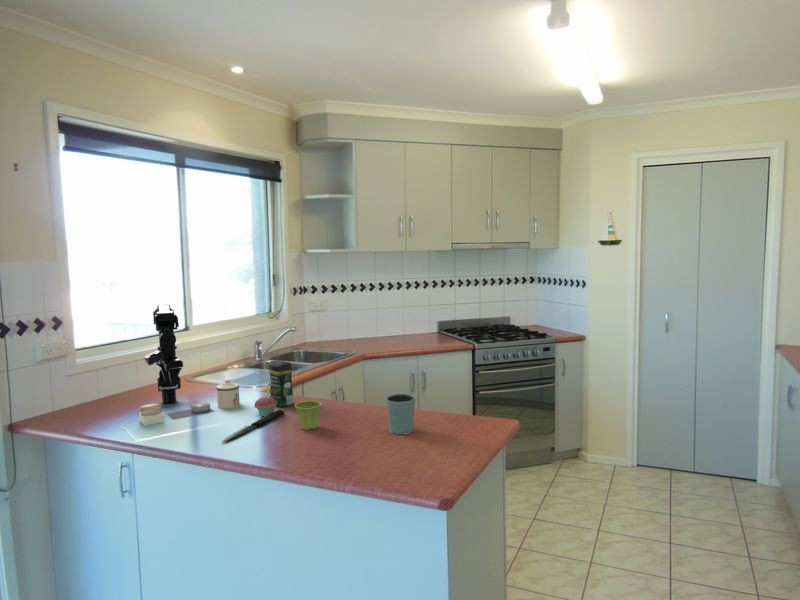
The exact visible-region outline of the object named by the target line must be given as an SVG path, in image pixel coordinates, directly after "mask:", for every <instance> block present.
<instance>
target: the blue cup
mask: <svg viewBox="0 0 800 600" xmlns="http://www.w3.org/2000/svg"><path fill="white" fill-rule="evenodd" d="M415 400H416V397H415V395H413V394H409V393H408V394H407V393H395V394H390V395H389V396H386V398H385V401H386V407H387V420H388V432H389V433H390V432H392V433H396V434H395V435H397V434H404V433H410V432H412V431H413V432H414V427H415V423H414V419H415V404H416V403H415ZM413 432H412V433H413ZM392 433H391V434H392ZM410 434H411V433H410Z"/></svg>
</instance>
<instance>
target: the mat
mask: <svg viewBox="0 0 800 600" xmlns="http://www.w3.org/2000/svg"><path fill="white" fill-rule="evenodd" d="M214 412H215V410H214V409H212V408H211V407H210V411H207V412H203V413H192V412H191V408H190V409H184V410H180V411H174V412H169V413H166V415H167V416H168V417H170V419H172V421H173V420H179V419H183V418H189V417H193V416H199V415H200V416H201V415H203V414H204V415H205V414H209V413H214Z"/></svg>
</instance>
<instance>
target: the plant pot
mask: <svg viewBox="0 0 800 600" xmlns="http://www.w3.org/2000/svg"><path fill="white" fill-rule="evenodd" d="M321 405H322V403H321V402H320V401H317V400H304V401H298V402H297V403H295V404H294V407H295V409H296V411H297V416H298V422H299V428H300V429H301V430H303V429H305V430H304V431H309V430H315V429H317V428H318V425H319V424H318V423H319V413H320V409H321ZM314 428H315V429H314Z"/></svg>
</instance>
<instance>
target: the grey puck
mask: <svg viewBox="0 0 800 600" xmlns="http://www.w3.org/2000/svg"><path fill="white" fill-rule="evenodd" d="M190 407H191V408H190V409H191V412H192V413H203V412H207V411H210V408H211V403H209V402H198V403H193V404H191V406H190Z"/></svg>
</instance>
